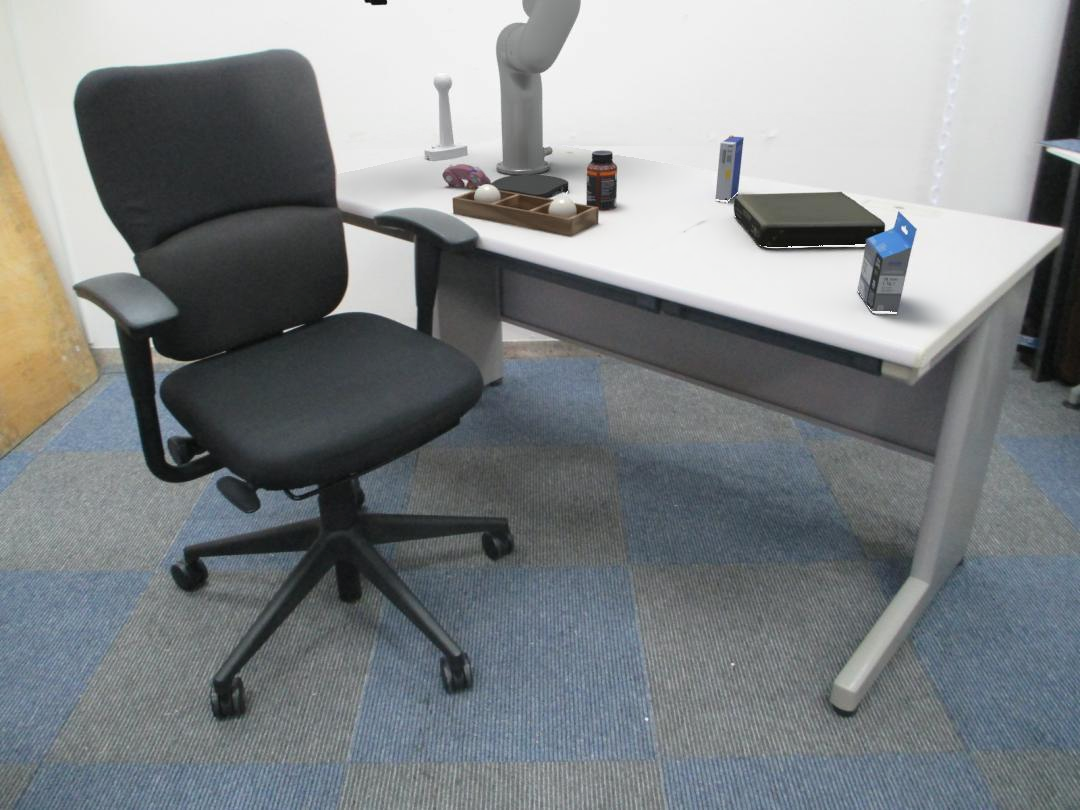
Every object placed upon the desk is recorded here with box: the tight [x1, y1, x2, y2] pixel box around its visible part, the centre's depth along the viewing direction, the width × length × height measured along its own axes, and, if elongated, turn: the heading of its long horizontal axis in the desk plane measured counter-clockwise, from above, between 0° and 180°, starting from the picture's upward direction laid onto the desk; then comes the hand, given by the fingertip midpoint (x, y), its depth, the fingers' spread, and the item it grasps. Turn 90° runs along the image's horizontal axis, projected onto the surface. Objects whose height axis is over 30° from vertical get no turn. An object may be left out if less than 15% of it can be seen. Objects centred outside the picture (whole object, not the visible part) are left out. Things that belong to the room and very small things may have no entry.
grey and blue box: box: [857, 210, 918, 313], centre depth 116 cm, size 9×4×12 cm, turn 175°
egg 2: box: [548, 196, 577, 218], centre depth 150 cm, size 5×5×5 cm
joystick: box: [423, 72, 468, 162], centre depth 204 cm, size 11×8×20 cm
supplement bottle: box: [586, 150, 618, 212], centre depth 160 cm, size 6×6×11 cm
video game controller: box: [442, 163, 492, 190], centre depth 177 cm, size 10×5×7 cm, turn 68°
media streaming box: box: [490, 173, 569, 199], centre depth 175 cm, size 15×15×3 cm
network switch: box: [733, 191, 886, 247], centre depth 148 cm, size 23×24×5 cm
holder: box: [452, 189, 600, 238], centre depth 156 cm, size 10×27×4 cm, turn 55°
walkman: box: [715, 135, 744, 201], centre depth 167 cm, size 8×3×12 cm, turn 153°
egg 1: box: [474, 184, 501, 204], centre depth 159 cm, size 5×5×5 cm
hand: (375, 3), depth 167 cm, fingers open, 9 cm apart
